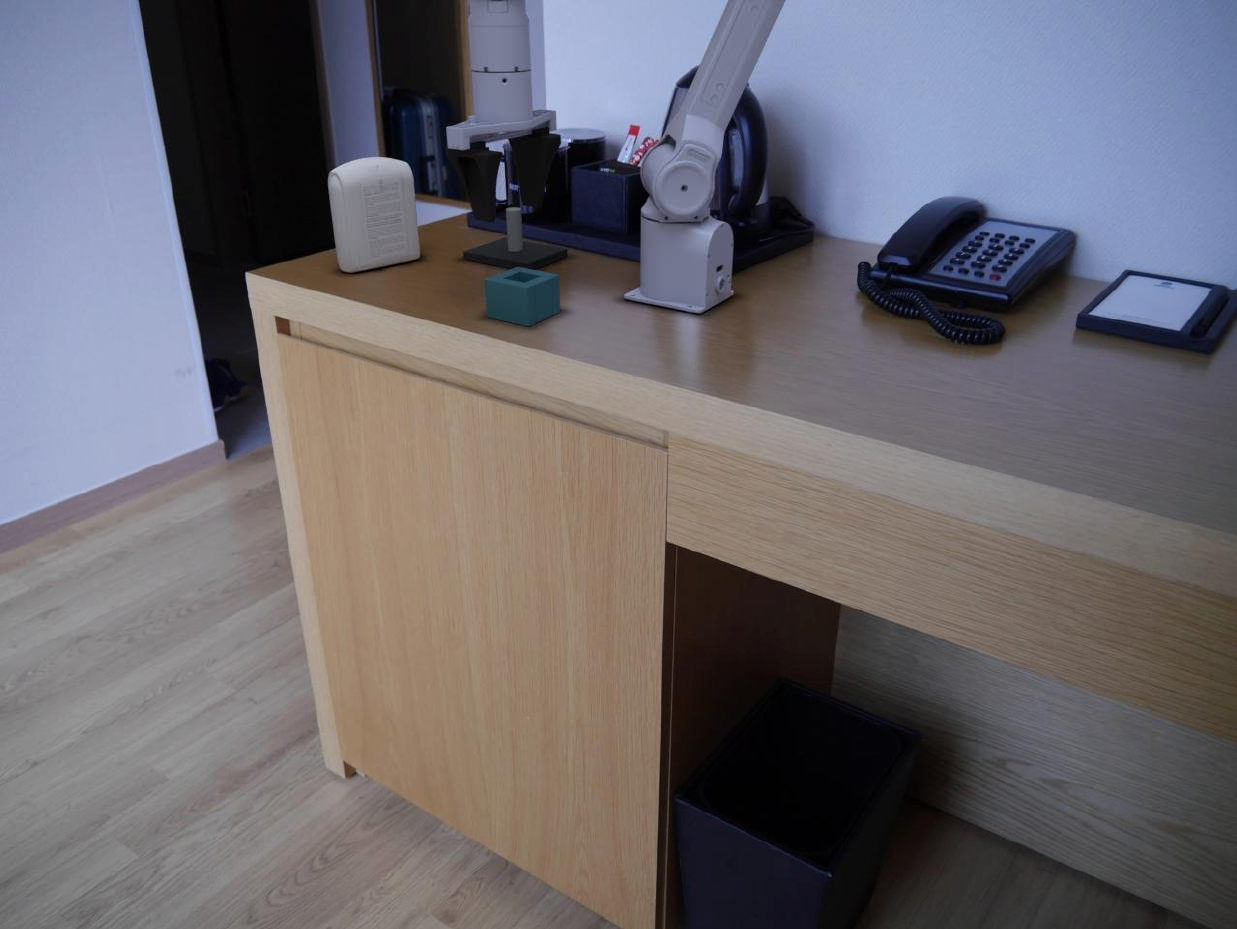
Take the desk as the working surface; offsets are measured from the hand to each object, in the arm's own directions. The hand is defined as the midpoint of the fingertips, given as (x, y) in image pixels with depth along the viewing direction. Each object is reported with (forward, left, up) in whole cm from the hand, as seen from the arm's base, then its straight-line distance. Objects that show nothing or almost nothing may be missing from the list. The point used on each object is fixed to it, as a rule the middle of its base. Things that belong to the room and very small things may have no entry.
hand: (509, 213), depth 98 cm
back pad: (+11, -14, -10) cm, 20 cm away
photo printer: (+23, -3, -10) cm, 25 cm away
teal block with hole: (-3, +3, -10) cm, 10 cm away
